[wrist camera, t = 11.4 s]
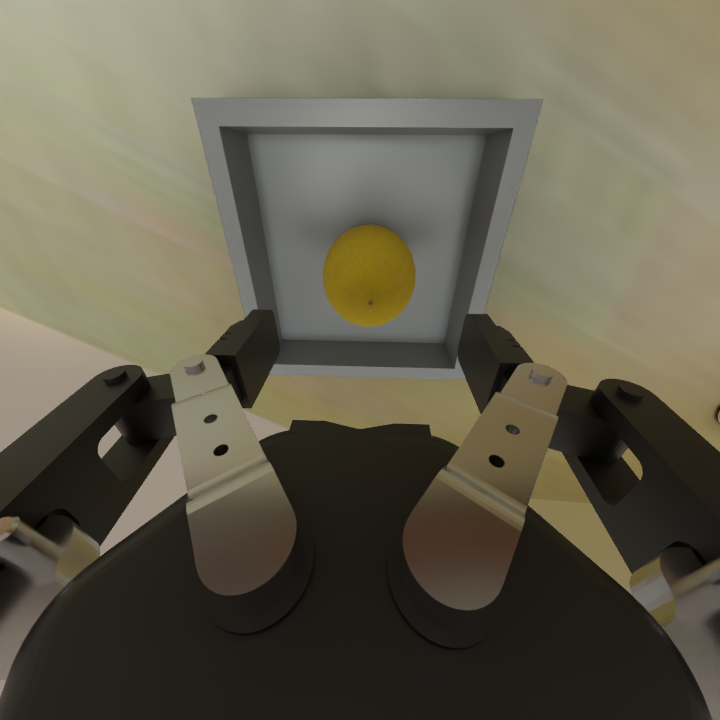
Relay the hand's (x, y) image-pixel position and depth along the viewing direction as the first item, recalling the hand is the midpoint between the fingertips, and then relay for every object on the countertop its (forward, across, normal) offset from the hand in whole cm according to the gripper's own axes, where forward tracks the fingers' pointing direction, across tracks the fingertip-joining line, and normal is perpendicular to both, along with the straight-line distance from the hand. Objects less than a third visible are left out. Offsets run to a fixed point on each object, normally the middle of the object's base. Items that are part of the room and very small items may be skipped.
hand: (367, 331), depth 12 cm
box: (+11, 0, 0) cm, 11 cm away
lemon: (+10, 0, 0) cm, 11 cm away
